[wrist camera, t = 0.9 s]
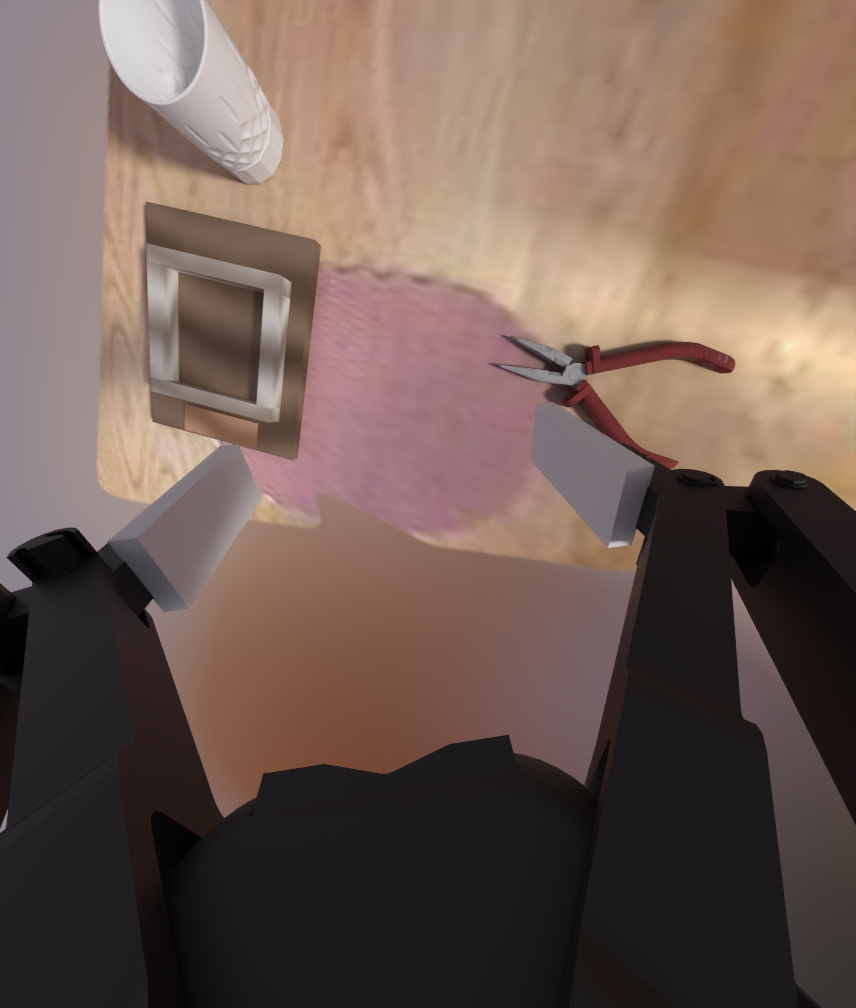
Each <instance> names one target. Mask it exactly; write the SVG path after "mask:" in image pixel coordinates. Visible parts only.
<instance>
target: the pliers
mask: <svg viewBox="0 0 856 1008" xmlns="http://www.w3.org/2000/svg"><path fill="white" fill-rule="evenodd" d="M510 338H512V339H514V340H515V341H517V342H518V343H520V344H521V345H523V346H524V347H526V348H527V349H529V350H531V351H532V352H534V353H535V354H537V355H538V356H540V357H541V358H543V359H545V360H546V361H548V362H550V363H552V362H553V361H554V362H555V363H557V364H559V365H560V366H562V367H563V368H562V371H561V373H558V372H550V371H546V370H538V369H530V368H521V367H513V366H504V365H499V367H502V368H504V369H507V370H509V371H512V372H514V373H517V374H519V375H522V376H524V377H527V378H529V379H532V380H534V381H538V382H544V383H551V384H563V385H566V386H568V387H570V388H571V389H569V390H570V391H571V393H572V395H570V396H569V397H568V398H567V399H565V400H564V401H563V403H564V405H565V406H566V407H571V406H573V405H575V404H576V403H577V402H579V403H580V404H581V406H582V407H583V408H584V409H585V411H586V412H587V413H588V415H589V416H590V417H591V418H592V420H593V421H594V422H595V424H596V425H597V426H598V427H599V429H600V430H601V431H602V433H603V434H604V435H606V436H608V437H609V438H611V439H612V440H614V441H618V442H621V443H624V444H627V445H630V446H632V447H634V448H636V449H637V450H639V451H641V453H644V454H646V455H647V456H649V458H652V459H654V460H655V461H657V462H659V463H660V464H662V465H664V466H665V467H667V468H669V469H671V468H674V467H675V466H676V465H677V464H678V462H679V461H676V460H673V459H670V458H667V457H664V456H660V455H657V454H654V453H651V452H649V451H646V450H645V449H643V448H641V447H640V446H638V445H637V444H636V443H635V442H634V441H633V440H632V439H631V438H630V437H629V436H628V434H627V433H626V432H625V430H624V429H623V428H622V426H621V425H620V424H619V423H618V421H617V420H616V419H615V417H614V416H613V415H612V413H611V412H610V411H609V410H608V408H607V407H606V406H605V404H604V403H603V402H602V400H601V399H600V398H599V396H598V395H597V394H596V393H595V391H594V390H593V388H592V387H591V385H590V384H588V382H587V381H586V380H584V378H585V375H590V374H595V373H600V372H605V371H610V370H615V369H620V368H625V367H630V366H635V365H640V364H645V363H650V362H655V361H660V360H670V359H678V360H685V361H689V362H692V363H694V364H697V365H700V366H702V367H705V368H707V369H710V370H713V371H716V372H718V373H731V372H732V371H733V369H734V367H735V361H734V359H733V358H732V357H731V356H729V355H726V354H724V353H721V352H719V351H716V350H714V349H711V348H709V347H706V346H704V345H701V344H699V343H692V342H677V343H667V344H662V345H657V346H652V347H648V348H643V349H638V350H633V351H628V352H624V353H619V354H614V355H609V356H604V357H600V348H599V346H598V345H596V346H592V347H589V348H587V349H585V352H586V361H585V362H582V363H575V362H573V361H572V358H571V357H569V356H567V355H566V354H564V353H562V352H560V351H558V350H556V349H554V348H552V347H549V346H545V345H542V344H538V343H535V342H532V341H528V340H525V339H521V338H518V337H514V336H510Z"/></svg>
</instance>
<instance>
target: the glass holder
mask: <svg viewBox="0 0 856 1008" xmlns="http://www.w3.org/2000/svg"><path fill="white" fill-rule="evenodd" d="M146 226H147V243H146V253H147V284H148V316H149V347H150V378H151V391H152V417H153V422H156V423H159V424H163V425H167V426H170V427H174V428H177V429H181V430H185V431H188V432H192V433H196V434H199V435H203V436H207V437H210V438H214V439H218V440H221V441H225V442H229V443H232V444H239V445H240V446H243V447H247V448H250V449H254V450H258V451H261V452H265V453H269V454H272V455H276V456H280V457H283V458H287V459H291V460H293V459H296V458H297V455H298V446H299V437H300V428H301V419H302V410H303V401H304V392H305V383H306V374H307V365H308V356H309V347H310V338H311V329H312V320H313V311H314V302H315V293H316V284H317V275H318V266H319V257H320V248H321V245H320V244H319V243H318V242H317V241H316V240H313V239H308V238H304V237H300V236H295V235H291V234H286V233H282V232H278V231H273V230H269V229H264V228H260V227H256V226H251V225H247V224H242V223H238V222H234V221H229V220H225V219H220V218H216V217H212V216H207V215H203V214H198V213H194V212H190V211H185V210H181V209H176V208H172V207H168V206H163V205H159V204H154V203H150V202H146Z"/></svg>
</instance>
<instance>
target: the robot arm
mask: <svg viewBox="0 0 856 1008" xmlns="http://www.w3.org/2000/svg"><path fill="white" fill-rule="evenodd" d="M532 462H533V463H534V464H535V465H536V467H537V468H538V469H539V470H540V471H541V472H542V473H543V475H544V476H545V477H546V478H547V479H548V480H549V481H550V482H551V484H552V485H553V486H554V487H555V488H556V489H557V490H558V492H559V493H560V494H561V495H562V496H563V497H564V498H565V500H566V501H567V502H568V503H569V504H570V505H571V506H572V508H573V509H574V510H575V511H576V512H577V513H578V514H579V515H580V517H581V518H582V519H583V520H584V521H585V522H586V523H587V525H588V526H589V527H590V528H591V529H592V530H593V531H594V533H595V534H596V535H597V536H598V537H599V538H600V539H601V540H602V542H603V543H604V544H605V545H606V546H607V547H608V548H611V547H618V546H625V545H632V542H633V538H634V535H635V531H636V528H637V529H638V530H639V531H640V532H641V533H642V534H643V535H644V536H645V538H644V541H643V544H642V547H641V551H640V554H639V557H638V560H637V563H636V565H637V570H636V574H635V578H634V583H633V587H632V591H631V596H630V600H629V604H628V608H627V613H626V617H625V621H624V626H623V630H622V635H621V639H620V643H619V647H618V652H617V656H616V660H615V664H614V669H613V673H612V678H611V682H610V686H609V691H608V695H607V699H606V703H605V707H604V712H603V716H602V721H601V725H600V729H599V733H598V738H597V742H596V746H595V750H594V753H593V757H592V760H591V764H590V767H589V770H588V774H587V778H586V782H585V786H584V785H583V784H581V783H580V782H578V781H577V780H576V779H575V778H573V777H572V776H570V775H569V774H567V773H565V772H563V771H562V770H560V769H559V768H557V767H555V766H553V765H551V764H548V763H546V762H544V761H541V760H539V759H536V758H533V757H529V756H526V755H522V754H516V753H513V749H512V745H511V742H510V738H509V735H505V736H498V737H492V738H485V739H479V740H473V741H466V742H460V743H454V744H449V745H447V746H445V747H443V748H441V749H439V750H437V751H435V752H433V753H430V754H428V755H426V756H424V757H422V758H420V759H418V760H416V761H414V762H412V763H410V764H408V765H406V766H404V767H402V768H400V769H398V770H396V771H394V772H391V773H388V774H379V773H374V772H368V771H362V770H356V769H350V768H344V767H338V766H333V765H327V764H321V765H315V766H309V767H303V768H296V769H290V770H284V771H277V772H271V773H264V774H263V777H262V780H261V784H260V788H259V791H258V795H257V797H256V798H254V799H252V800H250V801H249V802H247V803H246V804H244V805H242V806H241V807H239V808H237V809H236V810H235V811H233V812H232V813H231V814H229V815H228V816H227V817H225V818H224V817H223V816H222V814H221V813H220V811H219V809H218V807H217V805H216V803H215V800H214V798H213V795H212V792H211V789H210V786H209V783H208V780H207V777H206V774H205V771H204V768H203V766H202V762H201V759H200V757H199V754H198V751H197V748H196V745H195V742H194V739H193V736H192V733H191V730H190V727H189V725H188V722H187V718H186V716H185V713H184V710H183V707H182V704H181V701H180V698H179V695H178V692H177V689H176V686H175V683H174V680H173V678H172V675H171V672H170V669H169V666H168V663H167V660H166V657H165V654H164V651H163V648H162V646H161V642H160V639H159V637H158V633H157V631H156V628H155V625H154V622H153V619H152V617H151V615H149V613H148V612H147V611H146V610H145V607H146V606H147V605H148V604H149V603H150V601H151V600H152V599H154V600H155V602H156V603H157V604H158V605H159V606H160V608H161V609H162V610H163V611H164V612H168V611H175V610H182V609H188V608H190V607H191V605H192V603H193V602H194V600H195V599H196V597H197V596H198V594H199V593H200V591H201V590H202V588H203V587H204V585H205V584H206V582H207V581H208V579H209V578H210V576H211V575H212V573H213V572H214V570H215V568H216V567H217V566H218V564H219V562H220V561H221V559H222V558H223V556H224V555H225V553H226V552H227V550H228V549H229V547H230V546H231V544H232V543H233V541H234V540H235V538H236V537H237V535H238V534H239V532H240V531H241V529H242V528H243V526H244V524H245V523H246V521H247V520H248V518H249V517H250V515H251V514H252V512H253V511H254V509H255V508H256V506H257V505H258V503H259V502H260V500H261V499H262V497H261V495H260V492H259V490H258V488H257V485H256V483H255V481H254V479H253V476H252V474H251V472H250V469H249V467H248V465H247V463H246V460H245V458H244V456H243V454H242V451H241V449H240V447H239V444H233V445H225V446H220V447H219V448H218V449H216V450H215V451H214V452H213V453H212V454H211V455H209V456H208V457H207V458H206V459H205V460H203V461H202V462H201V463H200V464H199V465H198V466H196V467H195V468H194V469H193V470H192V471H190V472H189V473H188V474H187V475H186V476H185V477H183V478H182V479H181V480H180V481H179V482H177V483H176V484H175V485H174V486H173V487H172V488H170V489H169V490H168V491H167V492H166V493H164V494H163V495H162V496H161V497H160V498H159V499H157V500H156V501H155V502H154V503H153V504H151V505H150V506H149V507H148V508H147V509H146V510H144V511H143V512H142V513H141V514H140V515H138V516H137V517H136V518H135V519H134V520H133V521H131V522H130V523H129V524H128V525H127V526H125V527H124V528H123V529H122V530H121V531H120V532H118V533H117V534H116V535H115V536H114V537H112V538H111V539H110V540H109V541H108V543H107V544H106V545H105V546H104V547H102V548H101V549H100V550H99V551H98V552H96V550H95V549H94V548H93V547H92V546H91V544H90V543H89V542H88V541H87V540H86V539H85V537H84V536H83V535H82V534H81V533H80V531H79V530H78V529H76V528H64V529H58V530H55V531H52V532H49V533H45V534H43V535H40V536H38V537H36V538H33V539H31V540H29V541H27V542H25V543H24V544H22V545H20V546H18V547H17V548H16V549H14V550H13V551H11V553H10V554H9V555H8V556H7V558H8V559H9V560H10V561H11V562H12V563H13V564H14V565H15V566H16V567H17V568H18V569H19V570H20V571H21V572H22V573H23V574H25V575H26V576H27V577H28V578H29V579H30V580H31V581H32V586H31V587H28V588H24V589H21V590H18V591H14V592H10V591H8V590H7V589H6V588H5V587H4V586H3V585H2V584H0V827H1V825H2V822H3V820H4V817H5V815H6V812H7V809H8V816H7V825H6V829H5V830H4V831H2V832H1V833H0V1008H822V1007H821V1006H819V1005H818V1004H817V1003H816V1002H815V1001H814V1000H813V999H812V998H811V997H810V996H809V995H808V994H807V993H805V991H803V990H802V989H801V988H800V987H799V986H798V985H797V984H796V983H795V981H794V972H793V964H792V956H791V948H790V940H789V931H788V923H787V915H786V906H785V898H784V890H783V881H782V874H781V865H780V857H779V849H778V840H777V832H776V824H775V815H774V807H773V799H772V792H771V782H770V774H769V766H768V757H767V750H766V746H765V742H764V737H763V734H762V732H761V731H760V730H759V728H758V726H757V725H756V724H754V723H751V722H749V721H747V720H745V719H743V717H742V713H741V706H740V693H739V680H738V666H737V653H736V639H735V626H734V612H733V599H732V585H731V579H732V581H733V583H734V585H735V587H736V589H737V591H738V593H739V595H740V597H741V599H742V601H743V603H744V605H745V607H746V609H747V611H748V613H749V615H750V617H751V619H752V621H753V623H754V624H755V627H756V629H757V630H758V632H759V634H760V637H761V639H762V641H763V643H764V644H765V646H766V648H767V650H768V652H769V654H770V656H771V658H772V660H773V662H774V664H775V666H776V668H777V670H778V672H779V674H780V676H781V678H782V680H783V682H784V684H785V686H786V688H787V690H788V692H789V694H790V696H791V698H792V700H793V702H794V704H795V706H796V708H797V710H798V712H799V714H800V716H801V718H802V720H803V722H804V724H805V726H806V728H807V730H808V732H809V734H810V735H811V738H812V740H813V741H814V743H815V745H816V747H817V749H818V751H819V753H820V755H821V757H822V759H823V761H824V763H825V765H826V767H827V769H828V771H829V773H830V775H831V777H832V779H833V781H834V783H835V785H836V787H837V789H838V791H839V793H840V795H841V797H842V799H843V801H844V803H845V805H846V807H847V809H848V811H849V813H850V815H851V817H852V819H853V821H854V823H855V825H856V511H855V510H854V509H852V508H851V507H850V506H849V505H848V504H846V503H845V502H844V501H843V500H842V499H840V498H839V497H838V496H837V495H836V494H835V493H833V492H832V491H831V490H830V489H829V488H827V487H826V486H825V485H824V484H823V483H821V482H819V481H817V480H816V479H814V478H811V477H808V476H805V474H802V473H799V472H796V473H795V472H794V471H789V470H785V471H780V470H765V471H760V472H757V473H756V474H755V475H754V477H753V479H752V481H751V483H750V485H749V487H738V486H724V484H723V482H722V480H721V479H719V478H718V477H716V476H714V475H712V474H709V473H706V472H703V471H698V470H692V469H675V470H670V469H669V468H667V467H665V466H664V465H662V464H660V463H659V462H657V461H655V460H654V459H652V458H649V456H647V455H646V454H644V453H641V451H639V450H637V449H636V448H634V447H632V446H630V445H627V444H624V443H621V442H618V441H614V440H612V439H611V438H609V437H608V436H606V435H604V434H603V433H601V432H600V431H598V430H596V429H595V428H593V427H592V426H590V425H588V424H587V423H585V422H584V421H582V420H580V419H579V418H577V417H576V416H574V415H572V414H571V413H569V412H568V411H566V410H564V409H563V408H561V407H560V406H558V405H556V404H555V403H553V402H551V403H543V404H536V409H535V423H534V436H533V450H532Z"/></svg>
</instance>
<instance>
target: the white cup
mask: <svg viewBox="0 0 856 1008" xmlns="http://www.w3.org/2000/svg"><path fill="white" fill-rule="evenodd" d="M99 24H100V30H101V35H102V39H103V43H104V47H105V50H106V53H107V55H108V58H109V60H110V62H111V65H112V67H113V68H114V70H115V72H116V74H117V75H118V77H119V78H120V80H121V81H122V82H123V83H124V85H125V86H126V87H127V88H128V89H129V90H130V91H131V92H132V93H133V94H134V95H136V96H137V97H138V98H139V99H140V100H142V101H143V102H144V103H145V104H146V105H148V106H149V107H150V108H151V109H152V110H153V111H155V112H156V113H157V114H158V115H159V116H161V117H162V118H163V119H164V120H165V121H166V122H168V123H169V124H170V125H171V126H172V127H173V128H175V129H176V130H177V131H178V132H179V133H180V134H182V135H183V136H184V137H185V138H186V139H188V140H189V141H190V142H191V143H192V144H194V145H195V146H196V147H197V148H199V149H200V150H201V151H202V152H204V153H205V154H206V155H207V156H208V157H210V158H211V159H212V160H213V161H215V162H216V163H218V164H220V165H221V166H222V167H223V168H224V169H225V170H227V171H228V172H229V173H230V174H231V175H233V176H234V177H236V178H237V179H239V180H241V181H242V182H244V183H246V184H261V183H262V182H264V181H265V180H267V179H268V178H270V177H271V176H273V175H274V173H275V171H276V169H277V167H278V165H279V163H280V162H281V159H282V150H283V142H284V139H283V134H282V130H281V125H280V120H279V118H278V116H277V115H276V113H275V111H274V110H273V108H272V107H271V105H270V103H269V102H268V100H267V99H266V97H265V95H264V93H263V91H262V90H261V88H260V86H259V83H258V81H257V79H256V77H255V76H254V74H253V73H252V71H251V69H250V67H249V65H248V64H247V62H246V60H245V59H244V57H243V56H242V54H241V52H240V51H239V49H238V47H237V46H236V44H235V43H234V41H233V39H232V38H231V36H230V34H229V33H228V31H227V29H226V28H225V26H224V24H223V23H222V21H221V20H220V18H219V16H218V15H217V13H216V12H215V10H214V8H213V7H212V5H211V3H210V2H209V0H99Z"/></svg>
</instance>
